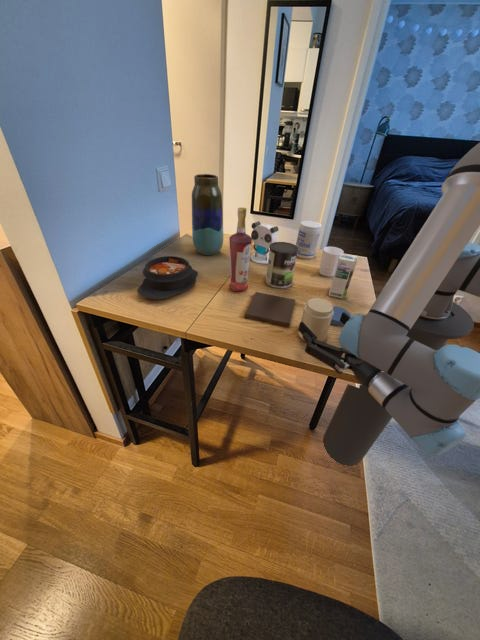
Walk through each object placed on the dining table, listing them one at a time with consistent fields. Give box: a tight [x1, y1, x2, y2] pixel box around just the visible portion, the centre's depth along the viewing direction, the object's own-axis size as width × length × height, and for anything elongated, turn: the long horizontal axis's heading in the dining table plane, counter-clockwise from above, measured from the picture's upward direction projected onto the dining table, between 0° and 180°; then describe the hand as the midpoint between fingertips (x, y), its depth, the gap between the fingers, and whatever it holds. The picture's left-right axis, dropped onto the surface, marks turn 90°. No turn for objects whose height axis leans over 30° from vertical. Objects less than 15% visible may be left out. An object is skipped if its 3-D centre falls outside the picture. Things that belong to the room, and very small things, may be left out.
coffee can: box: [265, 241, 298, 289], centre depth 97 cm, size 10×10×14 cm
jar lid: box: [330, 305, 352, 327], centre depth 83 cm, size 8×8×2 cm
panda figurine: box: [250, 221, 279, 265], centre depth 113 cm, size 12×11×15 cm
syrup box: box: [328, 253, 358, 300], centre depth 91 cm, size 6×6×14 cm
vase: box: [191, 173, 225, 256], centre depth 111 cm, size 14×14×31 cm
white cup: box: [318, 246, 345, 278], centre depth 106 cm, size 8×8×10 cm
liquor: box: [228, 207, 253, 293], centre depth 87 cm, size 7×7×28 cm
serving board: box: [244, 291, 296, 328], centre depth 85 cm, size 14×14×2 cm
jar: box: [297, 297, 334, 342], centre depth 73 cm, size 8×8×10 cm
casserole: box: [136, 255, 199, 300], centre depth 92 cm, size 25×19×8 cm
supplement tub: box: [295, 220, 323, 260], centre depth 118 cm, size 10×10×15 cm
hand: (321, 320), depth 71 cm, fingers open, 13 cm apart
